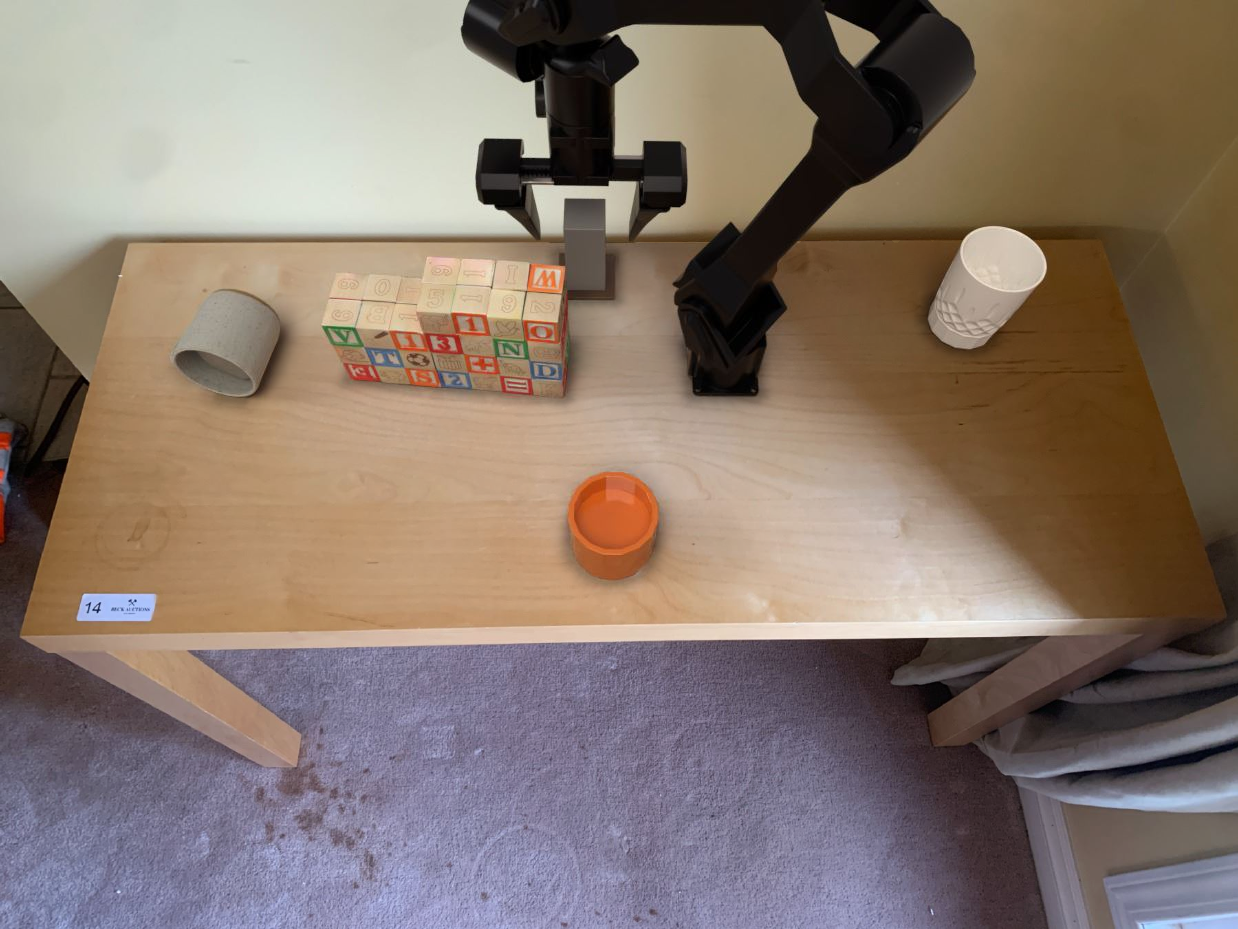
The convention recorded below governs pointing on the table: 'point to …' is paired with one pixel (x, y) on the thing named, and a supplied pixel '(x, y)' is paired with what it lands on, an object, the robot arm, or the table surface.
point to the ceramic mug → (228, 343)
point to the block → (585, 243)
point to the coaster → (595, 294)
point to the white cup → (985, 285)
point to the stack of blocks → (455, 326)
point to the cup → (612, 524)
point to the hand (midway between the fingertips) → (584, 237)
